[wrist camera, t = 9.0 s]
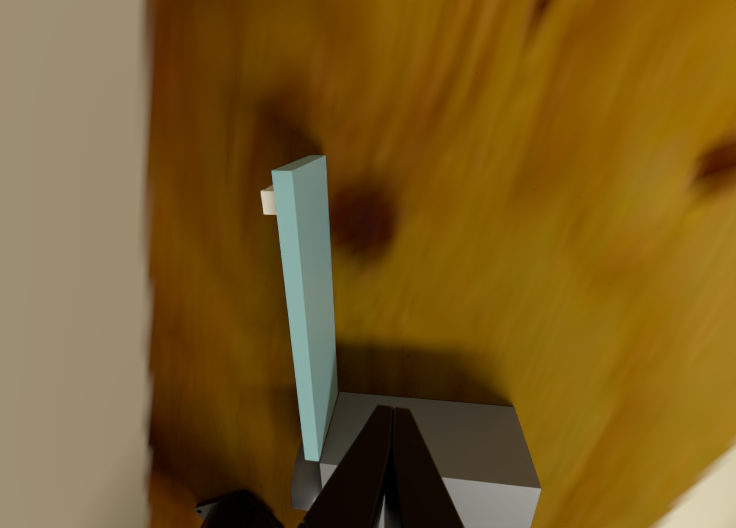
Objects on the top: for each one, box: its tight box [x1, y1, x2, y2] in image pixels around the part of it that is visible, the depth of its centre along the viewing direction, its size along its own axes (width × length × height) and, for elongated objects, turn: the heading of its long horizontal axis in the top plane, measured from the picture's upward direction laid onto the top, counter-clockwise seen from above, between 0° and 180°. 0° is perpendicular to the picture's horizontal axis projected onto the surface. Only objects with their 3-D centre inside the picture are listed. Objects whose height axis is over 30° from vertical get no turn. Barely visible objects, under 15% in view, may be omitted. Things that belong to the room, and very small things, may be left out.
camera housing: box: [291, 392, 541, 528], centre depth 23 cm, size 14×10×6 cm
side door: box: [261, 155, 338, 461], centre depth 18 cm, size 16×2×5 cm, turn 0°
